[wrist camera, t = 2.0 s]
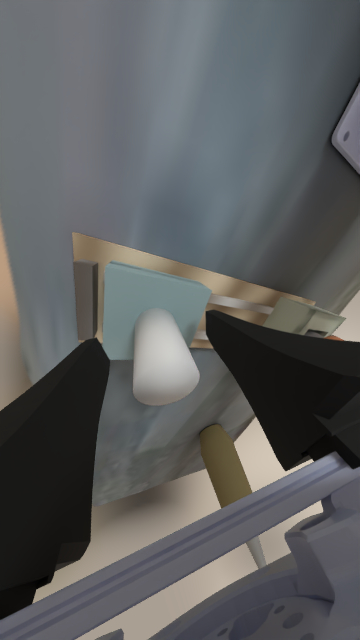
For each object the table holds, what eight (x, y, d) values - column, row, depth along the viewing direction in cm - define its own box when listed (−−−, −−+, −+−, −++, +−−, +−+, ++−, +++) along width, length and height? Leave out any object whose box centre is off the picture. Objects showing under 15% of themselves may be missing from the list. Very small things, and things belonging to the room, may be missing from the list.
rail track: (308, 299, 20) (329, 306, 17) (273, 347, 23) (287, 358, 21) (78, 233, 10) (60, 230, 7) (82, 335, 13) (72, 354, 11)
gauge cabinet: (302, 301, 19) (346, 318, 15) (269, 346, 23) (298, 370, 19) (273, 293, 17) (316, 310, 13) (243, 345, 21) (269, 371, 17)
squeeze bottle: (218, 417, 32) (286, 569, 17) (228, 425, 37) (289, 552, 22) (190, 434, 33) (233, 595, 18) (203, 440, 37) (246, 572, 23)
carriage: (198, 281, 12) (265, 327, 6) (177, 342, 15) (207, 417, 9) (112, 260, 10) (64, 299, 3) (108, 338, 13) (78, 438, 6)
